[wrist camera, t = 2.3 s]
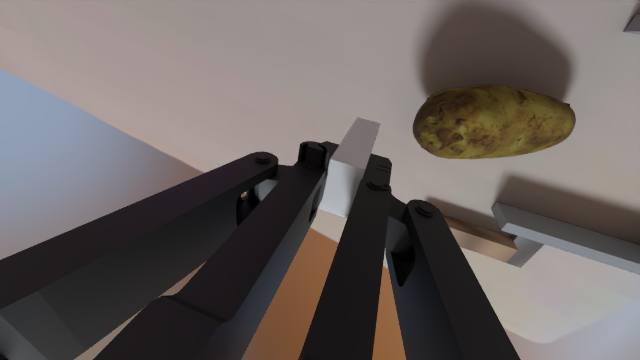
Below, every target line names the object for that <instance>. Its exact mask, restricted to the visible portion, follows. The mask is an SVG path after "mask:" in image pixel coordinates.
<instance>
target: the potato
mask: <svg viewBox="0 0 640 360" xmlns="http://www.w3.org/2000/svg"><path fill="white" fill-rule="evenodd" d="M575 121H576V119H575V113H574V111H573V110H572V109H571V107H570V104H567V103H563V102H561V101H558V100H557V99H555V98H552V97H549V96H542V95H539V94H536V93H533V92H530V91H527V90H521V89H516V88H511V87H504V86H496V85H480V86H473V87H463V88H453V89H447V90H443V91H440V92H438V93H436V94H434V95H432V96H431V97H429V98H427V100H426V102H425V103H424V104H423V105H422V106H421V108H420V109H419V111H418V113H417V115H416V117H415V120H414V123H413V134H414V137H415V139H416V140H417V142H418V143H419V144H420V145H421V147H422V148H424V149H425V150H427V151H428V152H429V153H431V154H433V155H435V156H438V157H441V158H448V159H482V158H500V157H510V156H517V155H523V154H528V153H533V152H537V151H540V150H543V149H546V148H549V147H552V146H554V145H556V144H558V143H560V142H562V141H564V140H565V139H566V138H567V137H568V136H569V135H570V134H571V132H572V131H573V128H574V126H575Z"/></svg>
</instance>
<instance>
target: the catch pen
mask: <svg viewBox="0 0 640 360" xmlns="http://www.w3.org/2000/svg"><path fill="white" fill-rule="evenodd" d="M623 32H628V33H634V34H640V14H636V15H635V17H634V18H633V19H632V21H631V22H630V23H629V25H628V26H627V27H626V29H625V30H624V31H623ZM491 210H492V212H493V214H494V216H495V218H496V221H497V223H498V225H499V227H500V229H501V230H502V231H505V232H508V233H511V234H514V235H517V236H520V237H524V238H527V239H530V240H533V241H536V242H539V243H542V244H545V245H549V246H552V247H555V248H558V249H561V250H564V251H567V252H570V253H573V254H577V255H580V256H583V257H586V258H589V259H592V260H595V261H598V262H601V263H605V264H608V265H611V266H614V267H617V268H620V269H623V270H626V271H630V272H633V273H636V274H639V275H640V245H637V244H634V243H631V242H627V241H624V240H621V239H618V238H614V237H611V236H608V235H604V234H601V233H598V232H595V231H591V230H588V229H585V228H581V227H578V226H575V225H571V224H568V223H565V222H562V221H558V220H555V219H552V218H548V217H545V216H542V215H538V214H535V213H532V212H529V211H525V210H522V209H519V208H515V207H512V206H509V205H505V204H502V203H499V202H496V203H495V205H494V206H493V207H492V209H491Z"/></svg>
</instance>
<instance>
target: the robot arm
mask: <svg viewBox="0 0 640 360" xmlns="http://www.w3.org/2000/svg"><path fill="white" fill-rule="evenodd" d="M379 127H380V123H377V122H373V121H369V120H366V119H362V118H358V117H357V119H356V120H355V122H354V124H353V125H352V127H351V128H350V130H349V131H348V133H347V134H346V136H345V137H344V139H343V140H342V142H341V143H340V145H338V144H335V143H331V142H328V141H326V142H323V143H318V142H312V141H307V142H303V143H301V144H300V148H299V155H298V161H297V162H296V163H295V164H294V166H286V165H278V158H277V157H276V156H275V155H273V154H271V153H268V152H255V153H251V154H249V155H247V156H244V157H242V158H240V159H237V160H235V161H232V162H230V163H228V164H225V165H223V166H221V167H218V168H216V169H214V170H211V171H209V172H207V173H204V174H202V175H200V176H197V177H195V178H192V179H190V180H188V181H185V182H183V183H181V184H178V185H176V186H174V187H171V188H169V189H167V190H164V191H162V192H160V193H157V194H155V195H153V196H150V197H148V198H145V199H143V200H141V201H138V202H136V203H134V204H131V205H129V206H127V207H124V208H122V209H119V210H117V211H115V212H113V213H110V214H108V215H105V216H103V217H101V218H98V219H96V220H94V221H92V222H89V223H86V224H84V225H82V226H79V227H77V228H75V229H73V230H70V231H68V232H65V233H63V234H61V235H58V236H56V237H54V238H51V239H49V240H46V241H44V242H42V243H39V244H37V245H35V246H33V247H30V248H28V249H25V250H23V251H20V252H18V253H16V254H14V255H11V256H9V257H6V258H4V259H2V260H0V360H73V359H75V358H76V357H78V356H79V355H81V354H82V353H83V352H85V351H86V350H88V349H89V348H90V347H92V346H93V345H94V344H96V343H97V342H98V341H100V340H101V339H102V338H104V337H105V336H107V335H108V334H109V333H111V332H112V331H113V330H115V329H116V328H117V327H118V326H120V325H121V324H123V323H124V322H125V321H126V320H128V319H129V318H131V317H132V316H133V315H135V314H136V313H137V312H139V311H140V310H141V309H142V310H141V311H140V312H139V313H138V315H137V316H135V317H134V319H132V320H131V321H130V323H129V324H128V325H127V326H126V327H125V328H124V329H123V330H122V331H121V332H120V333H119V334H118V335H117V336H116V337H115V338H114V339H113V340H112V341H111V342H110V343H109V344H108V345H107V346H106V347H105V348H104V349H103V350H102V351H101V352H100V353H99V354H98V355H97V356H96V357H95V358H94V359H93V360H241V359H242V357H243V355H244V353H245V351H246V349H247V347H248V345H249V343H250V341H251V340H252V337H253V335H254V333H255V332H256V330H257V328H258V326H259V324H260V322H261V320H262V318H263V316H264V314H265V313H266V311H267V309H268V307H269V305H270V303H271V301H272V299H273V297H274V295H275V293H276V291H277V290H278V288H279V286H280V284H281V282H282V280H283V278H284V276H285V274H286V272H287V270H288V268H289V266H290V265H291V263H292V261H293V259H294V257H295V255H296V253H297V251H298V249H299V247H300V245H301V243H302V241H303V239H304V238H305V236H306V234H307V232H308V230H309V228H310V226H311V224H312V222H313V220H314V218H315V216H316V213H317V209H318V206H319V204H320V207H319V209H321V210H324V211H327V212H330V213H333V214H336V215H338V216H341V217H344V218H347V221H346V224H345V227H344V230H343V233H342V236H341V238H340V241H339V244H338V247H337V250H336V253H335V256H334V259H333V262H332V264H331V267H330V270H329V273H328V276H327V279H326V282H325V285H324V288H323V291H322V293H321V296H320V300H319V302H318V305H317V308H316V311H315V314H314V317H313V320H312V322H311V325H310V328H309V332H308V334H307V337H306V340H305V343H304V346H303V348H302V351H301V354H300V356H299V359H298V360H372V355H373V345H374V337H375V329H376V320H377V312H378V311H377V310H378V303H379V294H380V286H381V277H382V268H383V260H384V251H385V248H386V259H387V264H388V269H389V273H390V279H391V284H392V289H393V294H394V299H395V304H396V309H397V314H398V319H399V325H400V330H401V335H402V339H403V345H404V350H405V355H406V360H520V358H519V356H518V354H517V352H516V351H515V349H514V347H513V345H512V343H511V341H510V339H509V338H508V336H507V334H506V332H505V330H504V328H503V326H502V324H501V323H500V321H499V319H498V317H497V315H496V313H495V311H494V310H493V308H492V306H491V304H490V302H489V300H488V298H487V297H486V295H485V293H484V291H483V289H482V287H481V285H480V284H479V282H478V280H477V278H476V276H475V274H474V272H473V271H472V269H471V267H470V265H469V263H468V261H467V259H466V258H465V256H464V254H463V252H462V250H461V248H460V246H459V245H458V243H457V241H456V239H455V237H454V235H453V233H452V232H451V230H450V228H449V226H448V224H447V222H446V220H445V219H444V217H443V215H442V213H441V212H440V211H439V209H437V208H436V207H435V206H434V205H432V204H431V203H429V202H426V201H422V200H411V201H409V202H408V204H405V203H403V202H401V201H400V200H398V199H396V198H395V197H394V196H393V195H392V194H391V187H390V185H389V184H390V176H391V168H392V163H391V162H390V160H389V159H388V158H385V157H381V156H378V155H374V154H371V151H372V148H373V145H374V142H375V139H376V136H377V133H378V130H379ZM244 192H246V196H244V197H242V198H241V194H243V193H244ZM320 202H321V203H320ZM207 260H208V261H207ZM206 261H207V262H206ZM204 262H206V263H205V264H204V265H203V266H202V267H201V268H200V269H199V271H198V272H197V273H196V274H195V275H194V276H193V277H192V278H191V279H190V280H189V282H188V283H187V284H186V285H185V286H184V287H183V288H182V289H181V290H180V291H179V292H178V293H176V294H174V295H171V296H170V295H169V296H161V297H159V296H160V295H162V294H163V293H164V292H166V291H167V290H168V289H169V288H171V287H172V286H173V285H175V284H176V283H177V282H179V281H180V280H182V279H183V278H184V277H186V276H187V275H188V274H190V273H191V272H192V271H194V270H195V269H196V268H198V267H199V266H200V265H202V264H203V263H204ZM158 297H159V298H158ZM156 298H157V299H156ZM145 306H146V307H145ZM144 307H145V308H144ZM143 308H144V309H143Z"/></svg>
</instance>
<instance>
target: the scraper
mask: <svg viewBox="0 0 640 360" xmlns="http://www.w3.org/2000/svg"><path fill="white" fill-rule="evenodd" d="M443 217H444V219H445V220H446V222H447V224H448V226H449V228H450V230H451V232H452V233H453V235H454V237H455V239H456V241H457V243H458V245H459V246H460V247H462V248H465V249H468V250H471V251H474V252H477V253H480V254H483V255H486V256H489V257H492V258H495V259H497V260H500V261H503V262H505V263H508V264H511V265H514V266H517V267H520V268H521V267H522V266H523V265H524V264H525V263H526V262H527V261H528V260H529V259H530V258H531V257H532V256H533V255H534V254H535V253H536V252H537V251H538V250H539V249H540V248H541V247H542V246H543V245H544V244H542V243H539V242H536V241H533V240H530V239H527V238H524V237H520V236H517V235H513V237H509V236H506V235H503V234H500V233H497V232H493V231H490V230H487V229H484V228H481V227H478V226H475V225H472V224H469V223H466V222H463V221H460V220H457V219H454V218H451V217H447V216H444V215H443Z"/></svg>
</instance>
